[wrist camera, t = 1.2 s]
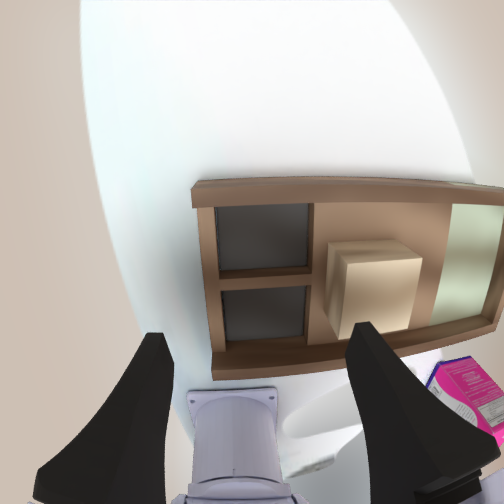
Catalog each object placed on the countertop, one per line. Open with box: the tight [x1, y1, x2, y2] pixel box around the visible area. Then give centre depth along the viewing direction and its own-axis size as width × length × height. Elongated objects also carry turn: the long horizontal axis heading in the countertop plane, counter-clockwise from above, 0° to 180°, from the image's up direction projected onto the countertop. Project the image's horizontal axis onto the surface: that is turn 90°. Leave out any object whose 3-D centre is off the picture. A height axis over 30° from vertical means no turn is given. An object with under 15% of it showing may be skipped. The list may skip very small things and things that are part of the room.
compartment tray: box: [191, 177, 504, 381], centre depth 20 cm, size 13×26×4 cm, turn 92°
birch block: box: [324, 239, 422, 340], centre depth 18 cm, size 5×5×4 cm
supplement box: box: [426, 356, 504, 447], centre depth 22 cm, size 6×6×12 cm
